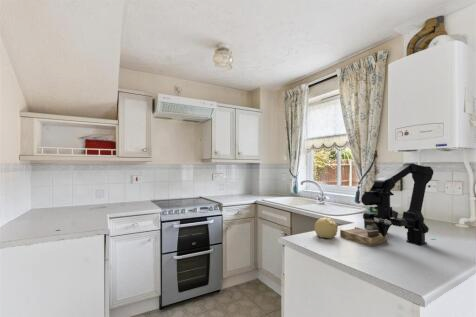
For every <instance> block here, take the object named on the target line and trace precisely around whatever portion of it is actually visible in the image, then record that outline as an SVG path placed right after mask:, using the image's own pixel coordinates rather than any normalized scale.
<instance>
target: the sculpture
mask: <svg viewBox="0 0 476 317" xmlns="http://www.w3.org/2000/svg"><path fill="white" fill-rule="evenodd" d="M338 229H339V228H338V224H337V223H336V222H335V220H334V219H333V218H331V217H327V216H323V217H322V218H319V219H317V220H316V222H315V224H314V232H315V233H316V234H315V235H316V236H318V237H319V238H324V239H333V238H334V237H336V236H337V232H338Z"/></svg>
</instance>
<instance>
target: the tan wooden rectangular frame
mask: <svg viewBox="0 0 476 317" xmlns="http://www.w3.org/2000/svg"><path fill="white" fill-rule="evenodd" d="M355 228H357V229H361V230H365V229H364V228H361V227H357V226H355V227H354V229H355ZM345 230H346V229H339V232H340V233H339V234H340V235H339V236H340V237H341V238H344V239H347V240H350V241H354V242H355V243H358V244H359V243H360V244H362V245H365V246H368V247H373V246H374V247H375V246H379V245H382V244H386V243H388V234H386V236H385V237H383V236H382V234H380V233H379V235H381V236H377V237H372V238H368V237H365V236H361V235H358V234H355V233H351V232H348V231H345ZM365 231H369V230H365Z"/></svg>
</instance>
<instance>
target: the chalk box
mask: <svg viewBox="0 0 476 317" xmlns="http://www.w3.org/2000/svg"><path fill="white" fill-rule="evenodd" d="M373 209H374V210H373ZM368 212H371V213H376V214H377V209H375V206H369V210H367V211H365V212H364V213H368ZM373 221H374V219H373V218H370V219H368V220H367V219H363V225H364V228H363V229H365V230H369V231H373V230H379V229H378V227H377V225H376V224H375V223H374V222H373ZM379 233H380V234H381V232H380V230H379Z"/></svg>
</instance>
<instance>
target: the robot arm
mask: <svg viewBox="0 0 476 317" xmlns="http://www.w3.org/2000/svg"><path fill="white" fill-rule="evenodd" d="M409 174H411V178H412V180H413V182H414V184H413V188H412V192H411V193H412V194H411V198H410V202H409V208H408V209H407V210H406V211H405V210H404V211H403V212H402V217H399V212H398V211H396V210H393V206H391V196H394V195H395V194H394V193H393V192H392V191H391V190H393V189H394V188H395V187H396V184H397V182H399V181H401V180H402V179H403V178H405V177H406V176H408V175H409ZM433 175H434V169H433V168H432V167H431V166H430V165H429V166H428V165H421V164H416V163H413V162H405V163H403V165H401V166H400V167H398V168H397V169H395V170H394V171H391V173H390V174H388V175H386V176H380V177H379V178H376V179H375V180H374V181H373V184H372V186H371V187H370V189H369V190H367V191H365V190H364V191H363V192H364V193H363V194H362V196H361V198H360V200H361V203H362V204H363V205H364V206H365V207H366V206H374V207H375V209H374V210H376V209H377V214H376V213H371V212H368V213H365V212H364V213H363V214H362V219H363V220H364V219H367V220H368V219H370V218H373V219H374V221H373V222H374V223H375V224H376V225H377V227H378V229H379V230H380V232H381V234H382V236H383V237H385V236H386V235H388V234H387V233H388V231H389V229H390V227H391V226H395V227H404V229H406V230H407V232H406V242H407V243H411V244H414V245H418V246H423V245H427V244H428V242H426V233H427V234H428V232H429V230H430V229H429V227H428V226H427V225H426V224H425V217H424V215H423V213H422V209H423V203H424V199H425V194H426V187H427V185H428V184H429V182H430V181H431V180H432V179H433Z"/></svg>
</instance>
